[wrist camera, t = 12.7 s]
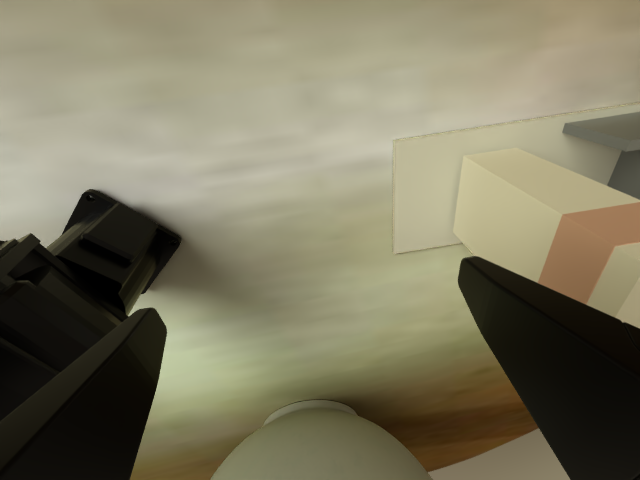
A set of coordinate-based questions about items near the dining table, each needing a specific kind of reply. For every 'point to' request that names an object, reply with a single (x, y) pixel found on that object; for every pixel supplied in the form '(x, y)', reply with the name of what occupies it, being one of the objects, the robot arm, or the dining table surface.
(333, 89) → the dining table surface
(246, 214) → the dining table surface
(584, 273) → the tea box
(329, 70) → the dining table surface
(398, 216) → the box holder
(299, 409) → the decorative bowl
